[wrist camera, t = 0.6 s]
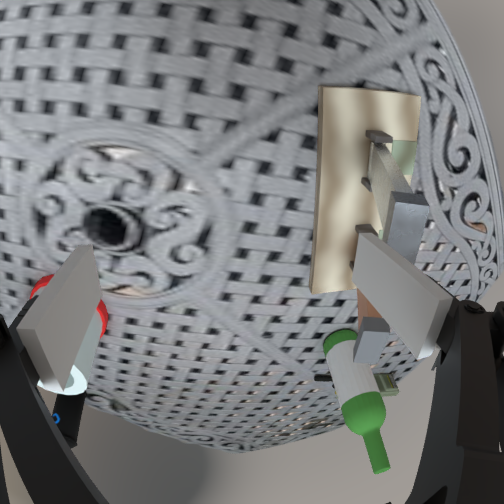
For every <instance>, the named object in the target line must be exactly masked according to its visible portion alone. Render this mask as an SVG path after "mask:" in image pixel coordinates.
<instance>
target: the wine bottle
mask: <svg viewBox="0 0 504 504" xmlns="http://www.w3.org/2000/svg"><path fill="white" fill-rule="evenodd" d="M357 336H358V335H357V334H356V333H355V332H353V331H351V330H340V331H337V332H335V333H333V334H331V335H330V336H329V337H328V338H327V339H326V340H325V342H324V345H323V348H324V353H325V356H326V360H327V363H328V367H329V370H330V373H331V377H332V380H333V383H334V387H335V390H336V393H337V397H338V400H339V404H340V407H341V410H342V413H343V417H344V420H345V423H346V425H347V426H348V428H349V429H350V430H351V431H352V432H354V433H356V434H359V435H362V436H363V438H364V442H365V445H366V448H367V451H368V455H369V458H370V462H371V465H372V468H373V472H374V474H379V473H382V472H385V471H387V470H389V469H390V464H389V460H388V457H387V454H386V450H385V448H384V444H383V441H382V437H381V435H380V427H381V426H382V424H383V422H384V420H385V416H386V409H385V405H384V402H383V400H382V397H381V394H380V391H379V388H378V386H377V383H376V380H375V378H374V375H373V373H372V370H371V367H370V365H369V364H366V363H353V348H354V345H355V342H356V339H357Z"/></svg>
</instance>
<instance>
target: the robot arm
mask: <svg viewBox="0 0 504 504" xmlns="http://www.w3.org/2000/svg"><path fill="white" fill-rule="evenodd" d="M351 281H352V282H353V283H354V284H355V285H356V287H357V288H358V289H359V290H360V291H361V292H362V293H363V295H364V296H365V297H366V298H367V299H368V301H369V302H370V303H371V304H372V305H373V306H374V308H375V309H376V310H377V311H378V312H379V314H380V315H381V316H382V317H383V318H384V319H385V321H386V322H387V323H388V324H389V326H390V327H391V328H392V329H393V330H394V332H395V333H396V334H397V335H398V336H399V338H400V339H401V340H402V341H403V343H404V344H405V345H406V346H407V348H408V349H409V350H410V351H411V353H412V354H413V355H414V356H415V358H416V359H421V358H424V357H427V356H431V354H432V352H433V349H434V347H435V345H436V344H437V345H438V346H439V347H440V348H441V349H440V352H439V354H438V356H437V358H436V361H435V363H434V365H433V367H432V370H434V368H435V367H437V368H436V378H435V386H434V393H433V400H432V406H431V412H430V418H429V424H428V429H427V434H426V439H425V443H424V448H423V452H422V457H421V460H420V465H419V468H418V472H417V476H416V479H415V483H414V486H413V489H412V492H411V494H410V496H409V498H408V499H407V501H406V502H405V504H504V356H503V354H502V353H503V351H504V302H503V301H501V302H498V303H497V305H496V308H495V310H494V312H486V311H485V309H484V308H483V307H482V306H481V305H480V304H478V303H476V302H474V301H471V300H462V301H459V300H458V299H456V298H455V297H454V296H453V295H452V294H451V293H449V292H448V291H447V290H446V289H445V288H443V287H442V286H441V285H440V284H438V283H437V282H436V281H435V280H434V279H433V278H431V277H430V276H428V275H426V274H424V273H423V272H422V271H421V270H419V269H418V268H417V267H416V266H414V265H413V264H412V263H411V262H409V261H408V260H407V259H405V258H404V257H403V256H402V255H400V254H399V253H398V252H396V251H395V250H394V249H393V248H391V247H390V246H389V245H387V244H386V243H385V242H383V241H382V240H381V239H379V238H378V237H377V236H375V235H374V234H373V233H359V238H358V244H357V251H356V257H355V263H354V269H353V275H352V280H351ZM101 297H102V290H101V286H100V281H99V277H98V272H97V267H96V262H95V257H94V251H93V246H92V244H91V245H78V246H77V247H76V249H75V250H74V251H73V252H72V253H71V255H70V256H69V257H68V258H67V260H66V261H65V262H64V263H63V265H62V266H61V267H60V268H59V270H58V271H57V272H56V274H55V275H54V276H53V277H52V279H51V280H50V281H49V283H48V284H47V285H46V287H45V288H44V289H43V291H42V292H41V293H40V295H35V296H34V297H33V298H31V299H30V300H29V301H27V303H26V304H25V305H24V307H23V308H22V310H21V311H20V312H19V314H18V317H16V318H15V319H14V321H13V322H12V324H11V325H10V327H9V328H8V327H7V325H6V323H5V320H4V318H3V316H2V315H1V314H0V425H1V428H2V431H3V434H4V437H5V440H6V442H7V445H8V448H9V450H10V453H11V455H12V458H13V460H14V463H15V465H16V467H17V469H18V472H19V474H20V476H21V478H22V481H23V483H24V485H25V487H26V489H27V491H28V493H29V495H30V497H31V499H32V500H33V503H34V504H109V503H108V501H107V500H106V499H105V498H104V496H103V495H102V494H101V492H100V491H99V490H98V488H97V487H96V486H95V484H94V483H93V482H92V480H91V479H90V478H89V476H88V475H87V473H86V472H85V470H84V469H83V467H82V466H81V464H80V463H79V462H78V460H77V458H76V457H75V455H74V454H73V452H72V450H71V449H70V447H69V446H68V444H67V442H66V441H65V439H64V437H63V436H62V434H61V432H60V430H59V429H58V427H57V425H56V423H55V421H54V419H53V418H52V416H51V414H50V412H49V410H48V408H47V406H46V405H45V402H44V400H43V398H42V396H41V394H40V392H39V390H38V389H37V387H36V386H37V384H38V381H39V379H40V380H41V382H42V384H43V386H44V387H45V389H46V390H50V391H58V392H64V389H65V386H66V383H67V380H68V378H69V375H70V372H71V369H72V367H73V364H74V361H75V359H76V356H77V354H78V351H79V349H80V346H81V344H82V341H83V339H84V336H85V334H86V331H87V329H88V327H89V324H90V322H91V320H92V317H93V315H94V313H95V311H96V308H97V306H98V304H99V302H100V299H101ZM499 442H500V447H501V451H502V452H500V451H499ZM0 504H10V503H9V497H8V493H7V488H6V482H5V477H4V470H3V463H2V456H1V447H0ZM386 504H391V502H389V503H386Z"/></svg>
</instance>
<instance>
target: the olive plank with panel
mask: <svg viewBox="0 0 504 504" xmlns="http://www.w3.org/2000/svg"><path fill="white" fill-rule="evenodd" d="M373 375H374V378H375V380H376V383H377V386H378V388H379V391H380V394H381V397H383V396H396V395H397V394H398V393H399V389H398V387H397V385H396V383H395V380H394V378H393V376H392V374H373ZM314 380H315V381H332V382H333V380H332V377H327V376H315V377H314ZM332 387H333V388H335V387H334V384H333V385H332ZM335 394H337V393H336V391H335ZM336 398H338V397H336Z"/></svg>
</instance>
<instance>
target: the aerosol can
mask: <svg viewBox="0 0 504 504" xmlns="http://www.w3.org/2000/svg"><path fill="white" fill-rule="evenodd" d="M86 396H87V393H86V391H84V392H83V393H80V394H77V395H65V394H59V393H58V394H57V398H56V402H55V406H54V410H53V414H52V418H53V419H54V421H55V423H56V425H57V427H58V429H59V430H60V432H61V434H62V436H63V437H64V439H65V441H66V442H67V444H68V446H69V447H70V449H71V448H73V447H75V446H77V443H76V442H77V436H78V431H79V425H80V420H81V415H82V410H83V405H84V401H85V397H86Z"/></svg>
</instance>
